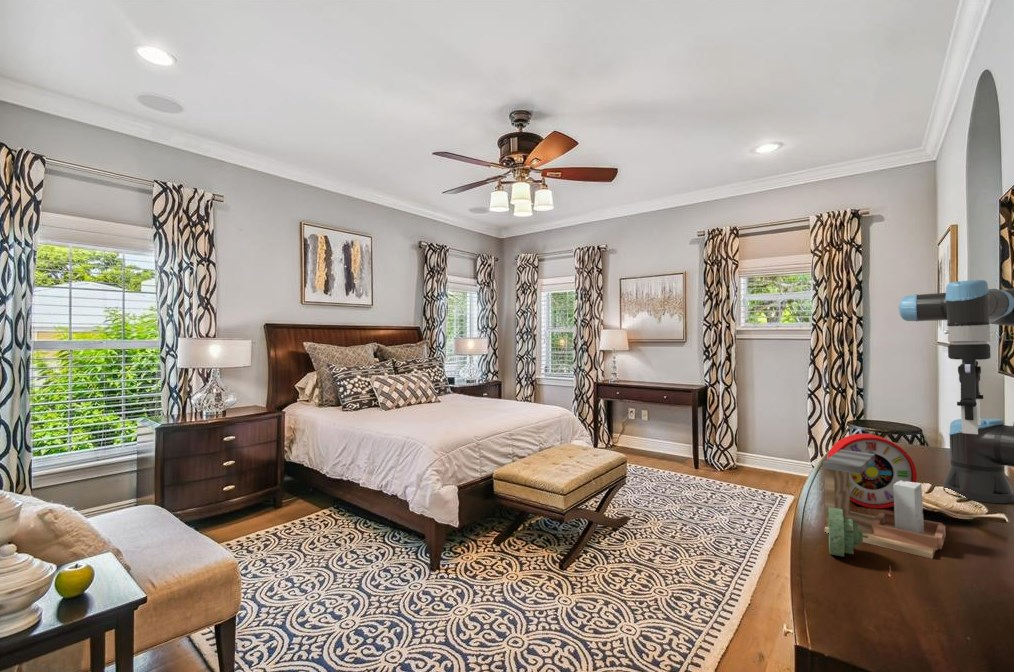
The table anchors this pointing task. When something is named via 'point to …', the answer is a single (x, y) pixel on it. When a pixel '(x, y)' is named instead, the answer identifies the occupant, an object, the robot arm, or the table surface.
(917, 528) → the skincare box
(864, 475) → the toy clock
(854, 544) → the decorative artifact
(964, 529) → the table surface
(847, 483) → the awning stand
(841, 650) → the table surface
